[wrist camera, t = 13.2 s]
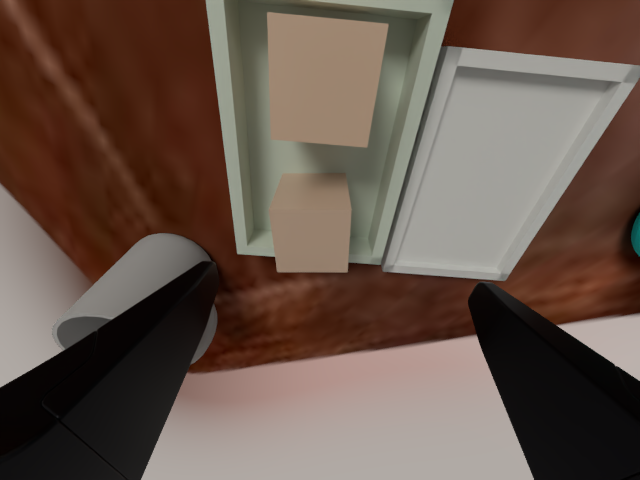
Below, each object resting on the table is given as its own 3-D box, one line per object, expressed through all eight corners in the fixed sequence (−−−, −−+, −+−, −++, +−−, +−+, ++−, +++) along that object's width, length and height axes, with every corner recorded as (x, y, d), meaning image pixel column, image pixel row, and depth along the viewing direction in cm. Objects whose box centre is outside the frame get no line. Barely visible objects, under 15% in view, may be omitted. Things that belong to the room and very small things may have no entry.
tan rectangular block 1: (369, 34, 14) (388, 23, 10) (356, 123, 17) (367, 147, 12) (286, 26, 14) (267, 11, 10) (285, 117, 17) (270, 139, 12)
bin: (433, 3, 14) (456, -9, 11) (374, 242, 23) (380, 264, 20) (223, -20, 14) (201, -37, 11) (247, 232, 22) (237, 253, 20)
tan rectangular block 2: (345, 173, 19) (351, 209, 14) (343, 226, 21) (347, 272, 17) (282, 173, 19) (268, 209, 14) (287, 226, 21) (277, 271, 17)
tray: (626, 65, 15) (647, 66, 14) (497, 271, 24) (505, 280, 23) (440, 46, 15) (448, 46, 14) (380, 262, 24) (382, 271, 23)
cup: (169, 216, 22) (90, 296, 14) (252, 288, 26) (223, 377, 19) (120, 254, 24) (30, 339, 17) (203, 314, 29) (161, 401, 22)
